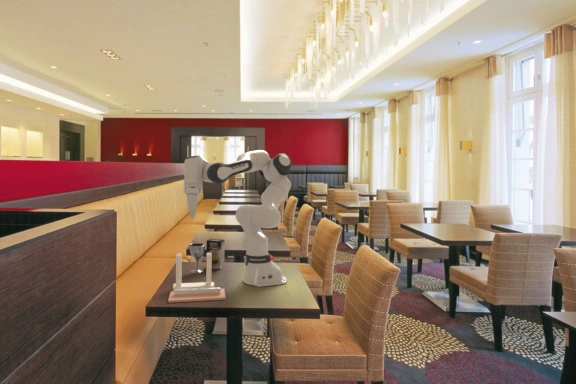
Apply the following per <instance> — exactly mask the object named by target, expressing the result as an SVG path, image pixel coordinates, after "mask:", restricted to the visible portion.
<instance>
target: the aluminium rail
mask: <svg viewBox="0 0 576 384" xmlns="http://www.w3.org/2000/svg"><path fill="white" fill-rule="evenodd" d="M221 289H222V288H221V287H220V286H214V287H207V288H185V289H174V290H173V291H174V296H188V295H208V294H220V290H221Z"/></svg>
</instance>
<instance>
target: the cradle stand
mask: <svg viewBox="0 0 576 384" xmlns="http://www.w3.org/2000/svg"><path fill="white" fill-rule="evenodd" d="M182 260H183V254H182V253H176V255H175V283H173V284H172V291H174V289H185V288H207V287H215V282H214V281H212V253H207V264H206V263H205V268H206V270H205V272H206V273H205V274H206V277H205V280H206V281H205V282H204V281H203V282H201V281H200V282H199V281H198V282H182V281H183V280H182V277H183V276H182V269H183V268H182V266H183V265H182V262H183V261H182Z"/></svg>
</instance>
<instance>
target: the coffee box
mask: <svg viewBox="0 0 576 384" xmlns="http://www.w3.org/2000/svg"><path fill="white" fill-rule="evenodd" d="M225 245H226V240H225V239H223V238H221V239H220V238H209V239H207V240H206V246H205V248H206V249H205V250H206V251H205V254H206V255H205V257H206V258H205V265H206V264H207V253H212V269H214V270H215V269H216V270H221V269H223V268H224V267H225V249H226V246H225Z"/></svg>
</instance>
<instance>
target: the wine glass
mask: <svg viewBox="0 0 576 384" xmlns="http://www.w3.org/2000/svg"><path fill="white" fill-rule="evenodd" d="M205 248H206V244H205V243H204V242H203V243H201V242H198V243H197V242H195V243H190V245H189V251H190V255H191V256H192V258H193V259H194V260H195V264H196V269H192V270H190V273H193V274H201V272H202V273H204V270H203V269H199V261H200V259H202V257H203V256H204V255H205V250H206V249H205Z"/></svg>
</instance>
